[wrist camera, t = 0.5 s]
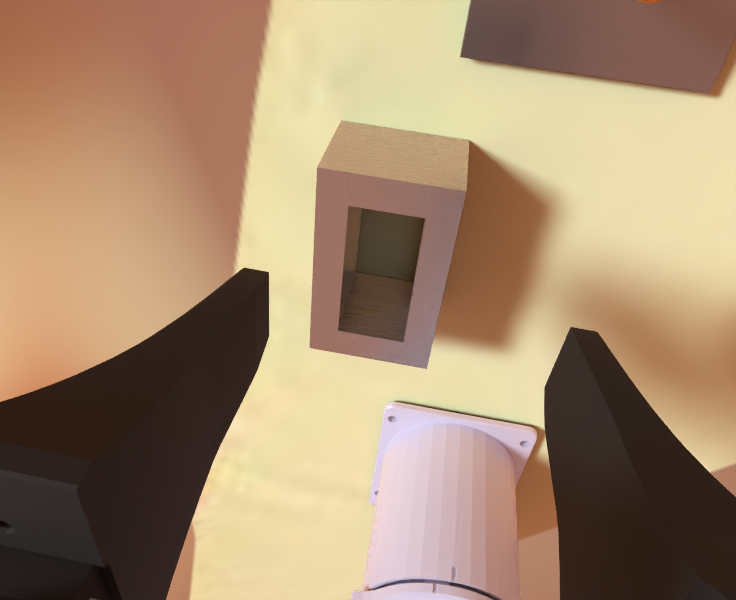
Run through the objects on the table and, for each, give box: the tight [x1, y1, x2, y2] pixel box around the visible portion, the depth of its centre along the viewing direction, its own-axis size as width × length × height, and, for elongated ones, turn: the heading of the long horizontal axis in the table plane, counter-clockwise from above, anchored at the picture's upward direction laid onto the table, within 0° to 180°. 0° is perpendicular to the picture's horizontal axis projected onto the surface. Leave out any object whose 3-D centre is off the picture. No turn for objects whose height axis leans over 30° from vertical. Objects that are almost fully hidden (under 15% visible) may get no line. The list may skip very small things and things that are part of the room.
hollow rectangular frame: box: [310, 121, 469, 369], centre depth 22 cm, size 8×5×4 cm, turn 174°
